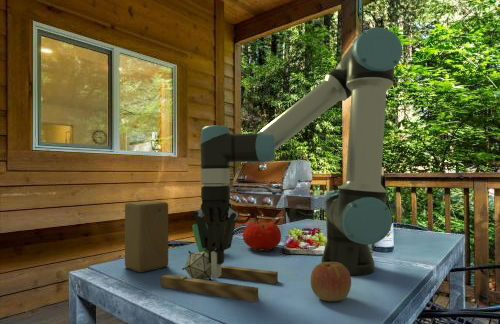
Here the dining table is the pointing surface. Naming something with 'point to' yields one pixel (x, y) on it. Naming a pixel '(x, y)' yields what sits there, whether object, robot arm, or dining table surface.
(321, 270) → the apple
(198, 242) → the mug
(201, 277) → the game die
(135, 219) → the wooden block
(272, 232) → the tomato
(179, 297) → the dining table surface
